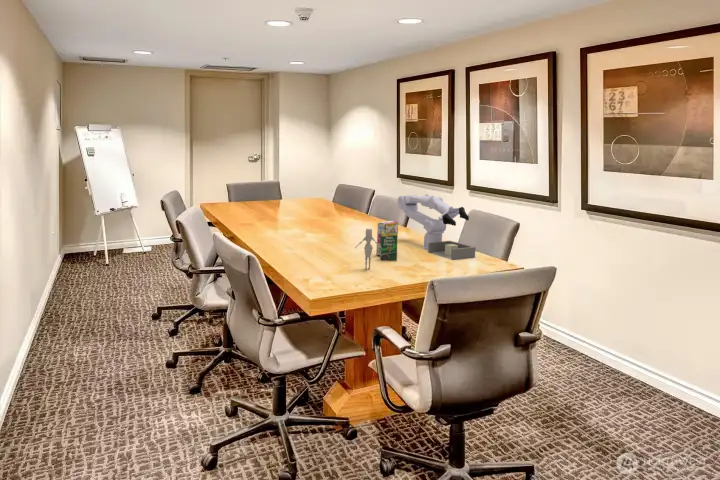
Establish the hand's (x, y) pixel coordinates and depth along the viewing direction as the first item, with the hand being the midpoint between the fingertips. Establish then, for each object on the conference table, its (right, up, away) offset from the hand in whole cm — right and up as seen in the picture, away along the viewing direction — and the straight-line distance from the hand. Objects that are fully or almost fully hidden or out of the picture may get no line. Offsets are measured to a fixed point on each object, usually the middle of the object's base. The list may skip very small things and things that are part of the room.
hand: (461, 221), depth 271 cm
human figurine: (-46, -22, -26) cm, 57 cm away
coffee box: (-36, -19, -6) cm, 41 cm away
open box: (-4, -17, +6) cm, 19 cm away
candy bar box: (-36, -17, +5) cm, 40 cm away
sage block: (-4, -16, +6) cm, 18 cm away
